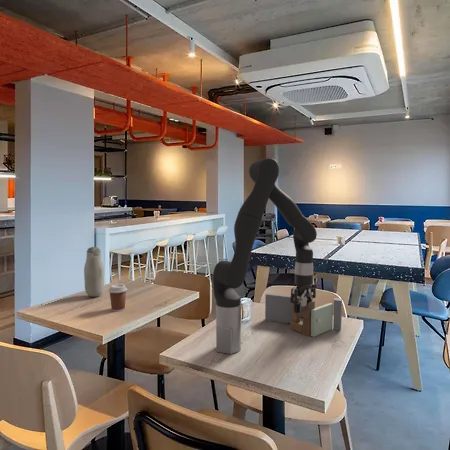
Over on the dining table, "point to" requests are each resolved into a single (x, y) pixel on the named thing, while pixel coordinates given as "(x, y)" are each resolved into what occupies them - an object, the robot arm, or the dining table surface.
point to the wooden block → (306, 314)
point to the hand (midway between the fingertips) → (303, 310)
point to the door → (321, 319)
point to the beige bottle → (94, 272)
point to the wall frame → (282, 309)
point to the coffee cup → (117, 297)
